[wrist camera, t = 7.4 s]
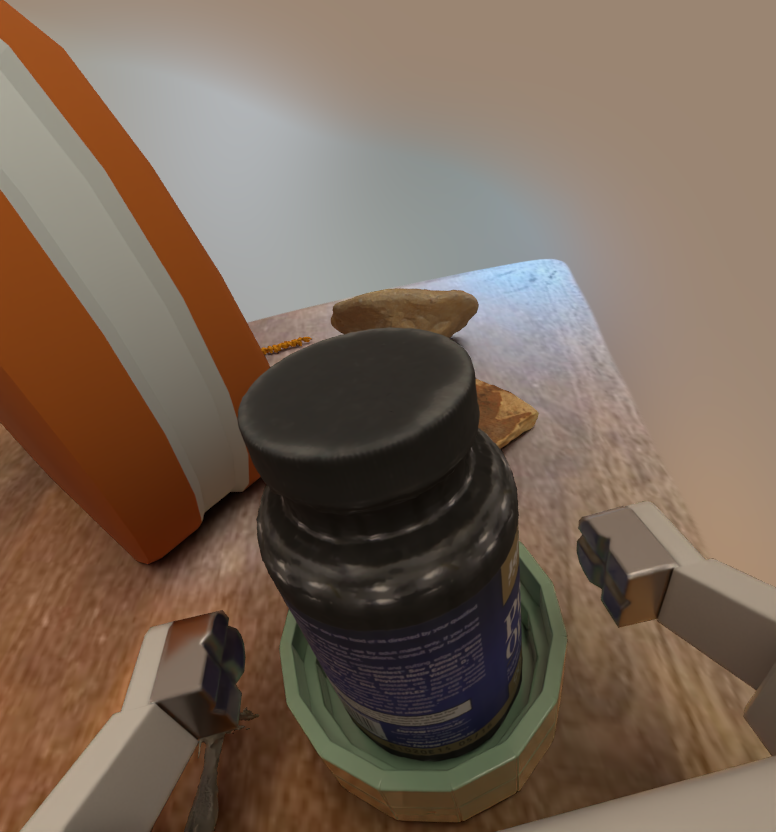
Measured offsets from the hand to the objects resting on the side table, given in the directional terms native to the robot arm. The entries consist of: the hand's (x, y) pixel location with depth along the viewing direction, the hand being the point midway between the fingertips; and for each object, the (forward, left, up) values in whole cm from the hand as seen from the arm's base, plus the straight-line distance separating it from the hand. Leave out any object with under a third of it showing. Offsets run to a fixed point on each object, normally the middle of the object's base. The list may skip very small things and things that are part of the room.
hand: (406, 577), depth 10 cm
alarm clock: (+10, -19, -7) cm, 23 cm away
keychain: (+2, -31, -6) cm, 31 cm away
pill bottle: (0, -1, -7) cm, 7 cm away
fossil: (-8, -22, -7) cm, 24 cm away
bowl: (0, -1, -7) cm, 7 cm away
